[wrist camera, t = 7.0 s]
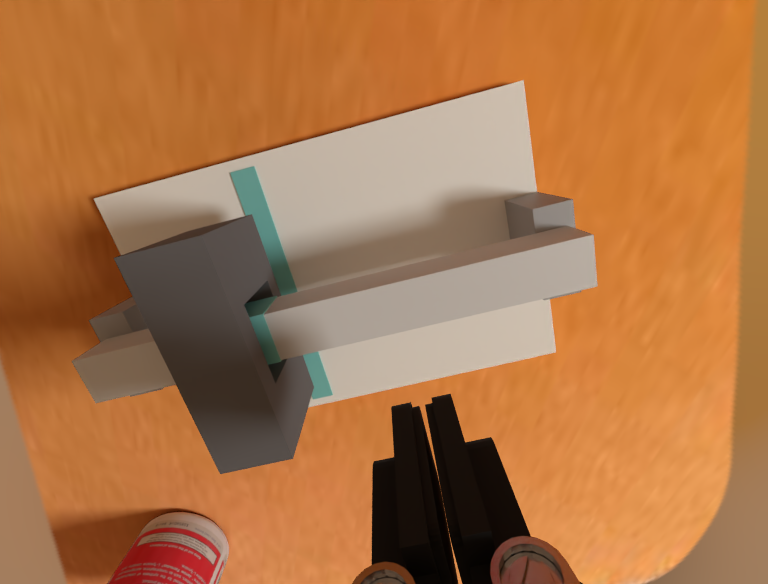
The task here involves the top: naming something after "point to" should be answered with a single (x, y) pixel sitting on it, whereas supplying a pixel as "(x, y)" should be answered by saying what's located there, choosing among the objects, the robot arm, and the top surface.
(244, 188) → the rail stand
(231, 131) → the top surface
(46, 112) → the top surface
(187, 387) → the collar
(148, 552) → the pill bottle
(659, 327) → the top surface
